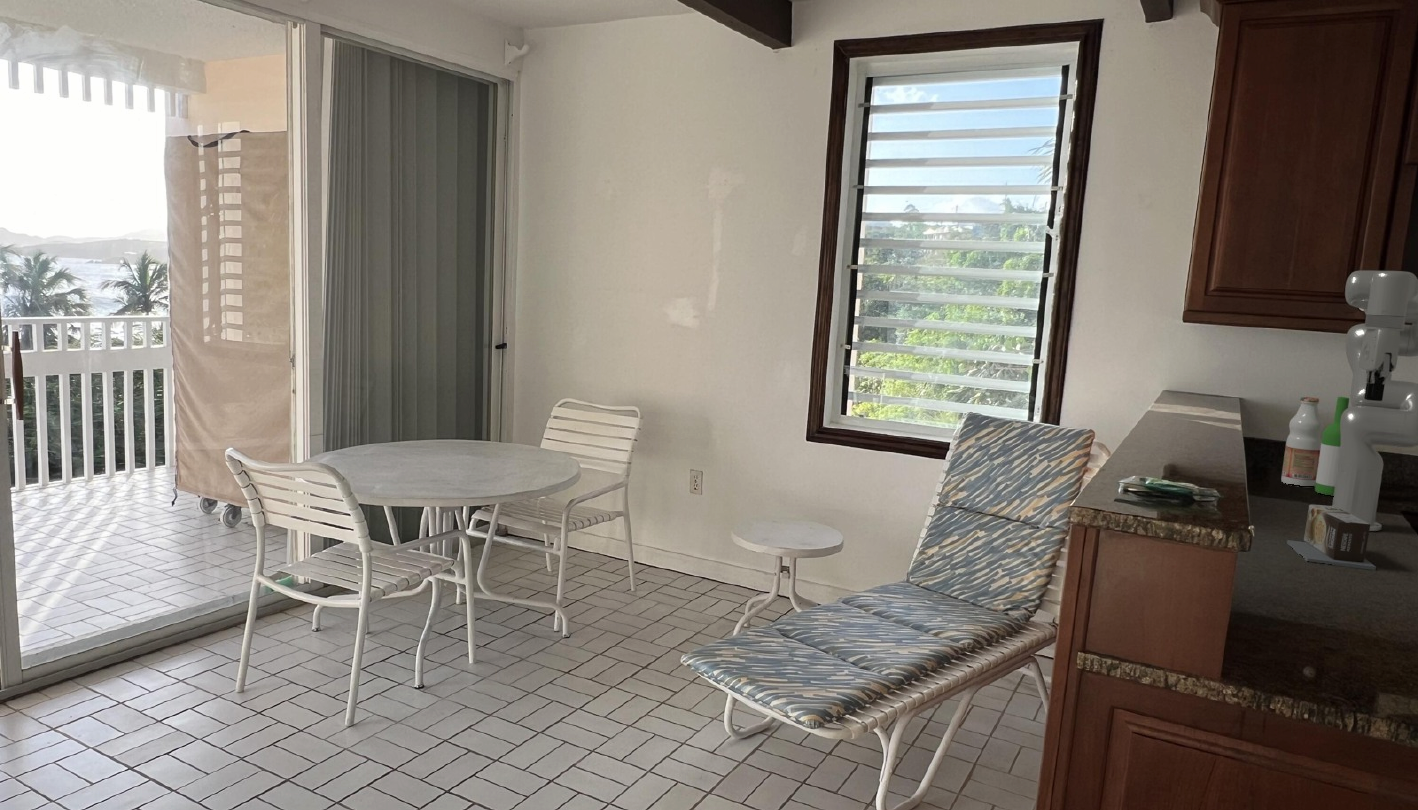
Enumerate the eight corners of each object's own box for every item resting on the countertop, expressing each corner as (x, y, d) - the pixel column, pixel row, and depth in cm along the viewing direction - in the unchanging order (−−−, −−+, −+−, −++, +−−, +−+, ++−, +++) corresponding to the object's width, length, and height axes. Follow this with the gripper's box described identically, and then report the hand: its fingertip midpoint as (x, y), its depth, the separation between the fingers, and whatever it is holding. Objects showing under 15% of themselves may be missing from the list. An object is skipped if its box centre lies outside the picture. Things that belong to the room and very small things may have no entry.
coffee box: (1307, 503, 217) (1338, 519, 201) (1337, 506, 216) (1371, 522, 200) (1302, 541, 218) (1333, 559, 203) (1332, 544, 217) (1365, 563, 201)
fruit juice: (1273, 481, 294) (1285, 395, 290) (1297, 481, 296) (1309, 396, 292) (1298, 487, 285) (1310, 399, 281) (1322, 487, 287) (1335, 400, 283)
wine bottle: (1351, 498, 273) (1365, 399, 269) (1325, 497, 273) (1339, 398, 269) (1333, 492, 281) (1347, 396, 277) (1308, 491, 281) (1322, 395, 277)
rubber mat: (1286, 543, 218) (1287, 540, 218) (1349, 550, 214) (1350, 547, 214) (1307, 562, 203) (1307, 558, 203) (1375, 570, 199) (1375, 566, 199)
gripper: (1354, 321, 223) (1344, 395, 226) (1378, 323, 209) (1366, 402, 212) (1390, 323, 221) (1379, 398, 223) (1416, 325, 207) (1404, 405, 209)
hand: (1373, 400), depth 218 cm, fingers closed
